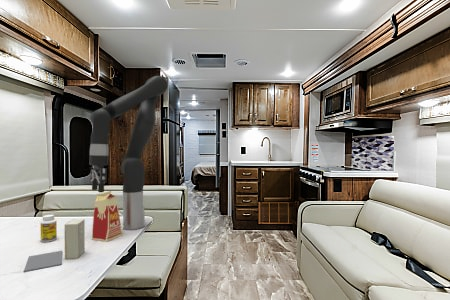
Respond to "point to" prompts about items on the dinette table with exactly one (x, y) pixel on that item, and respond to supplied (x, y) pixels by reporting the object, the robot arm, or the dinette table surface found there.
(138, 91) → the robot arm
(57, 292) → the dinette table surface
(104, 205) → the milk carton
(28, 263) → the mat
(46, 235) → the supplement bottle
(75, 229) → the skincare box
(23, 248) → the dinette table surface
